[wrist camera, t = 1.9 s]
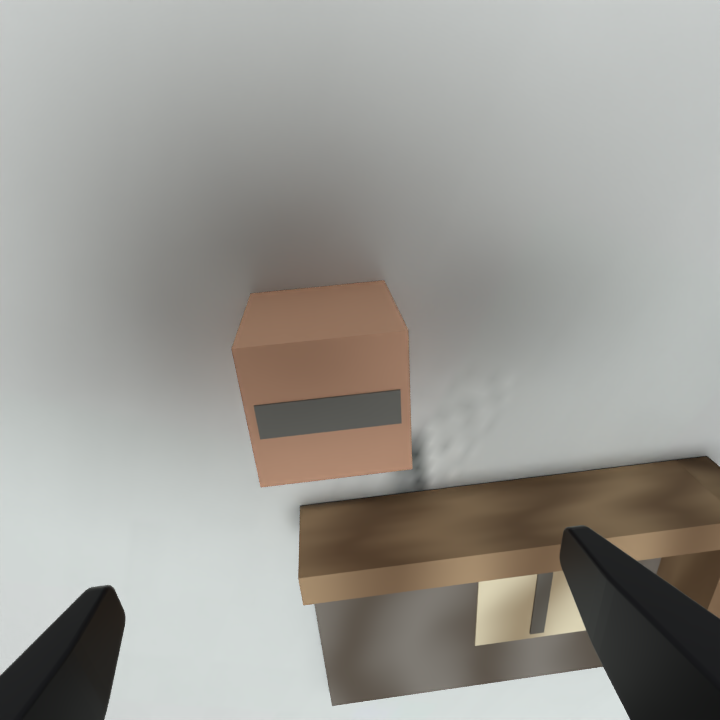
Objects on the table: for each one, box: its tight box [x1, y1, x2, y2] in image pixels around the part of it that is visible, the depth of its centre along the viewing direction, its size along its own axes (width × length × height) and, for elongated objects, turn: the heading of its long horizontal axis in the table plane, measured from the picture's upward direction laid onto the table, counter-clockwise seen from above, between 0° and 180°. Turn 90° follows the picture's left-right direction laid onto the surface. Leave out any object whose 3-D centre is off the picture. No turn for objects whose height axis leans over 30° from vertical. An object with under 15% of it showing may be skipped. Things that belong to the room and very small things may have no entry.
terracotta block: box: [232, 280, 412, 487], centre depth 17 cm, size 5×5×5 cm
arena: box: [298, 456, 720, 706], centre depth 24 cm, size 20×15×4 cm
